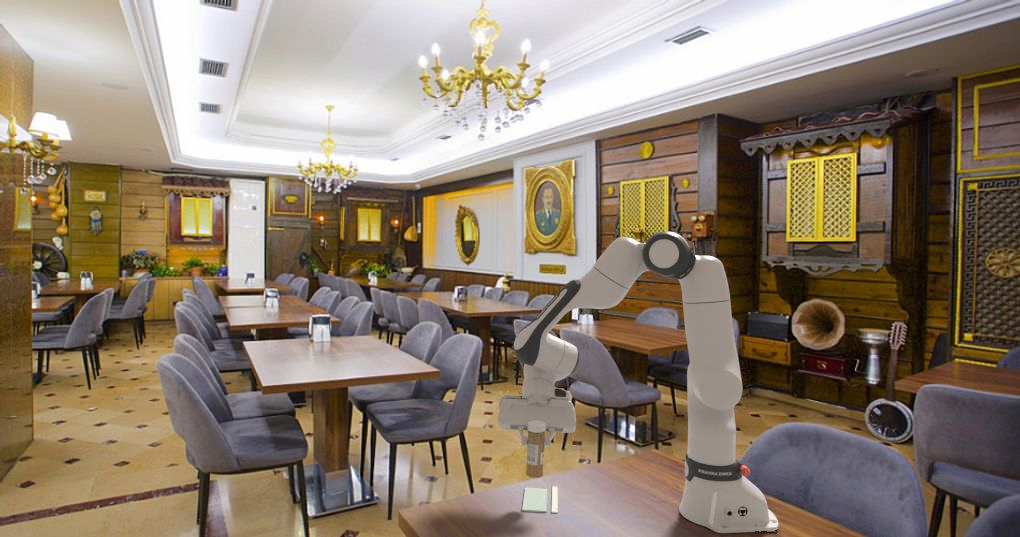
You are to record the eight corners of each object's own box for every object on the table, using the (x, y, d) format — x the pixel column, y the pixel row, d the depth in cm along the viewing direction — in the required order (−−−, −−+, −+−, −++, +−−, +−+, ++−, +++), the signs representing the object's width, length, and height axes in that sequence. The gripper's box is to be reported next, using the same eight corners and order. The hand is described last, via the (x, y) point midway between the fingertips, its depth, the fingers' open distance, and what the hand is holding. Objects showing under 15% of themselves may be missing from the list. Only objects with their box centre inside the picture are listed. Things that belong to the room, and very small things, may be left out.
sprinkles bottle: (547, 476, 139) (549, 423, 139) (532, 480, 137) (534, 426, 136) (536, 470, 143) (538, 418, 143) (521, 473, 141) (524, 421, 140)
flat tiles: (557, 487, 150) (557, 486, 150) (557, 513, 135) (557, 511, 135) (525, 485, 151) (525, 484, 151) (522, 511, 136) (522, 509, 136)
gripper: (499, 388, 147) (493, 437, 138) (576, 392, 145) (576, 441, 136) (500, 401, 152) (495, 448, 142) (575, 404, 150) (575, 453, 140)
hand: (535, 445), depth 139 cm, fingers closed on sprinkles bottle, 4 cm apart
